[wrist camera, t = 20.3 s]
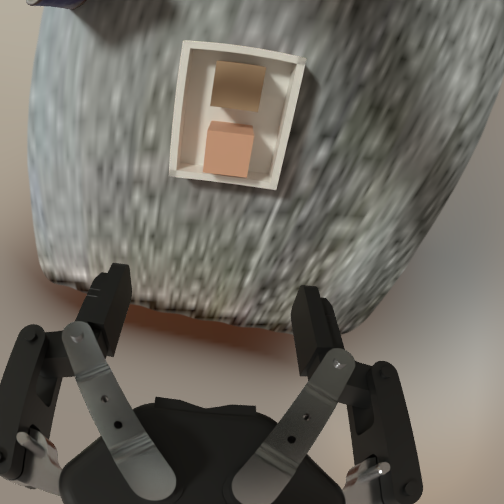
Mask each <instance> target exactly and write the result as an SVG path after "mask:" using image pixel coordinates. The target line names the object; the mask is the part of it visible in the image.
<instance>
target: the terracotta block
mask: <svg viewBox="0 0 504 504" xmlns="http://www.w3.org/2000/svg"><path fill="white" fill-rule="evenodd" d="M253 140H254V132H253V126H252V125H245V124H238V123H230V122H221V121H211V123H210V125H209V128H208V130H207V138H206V147H205V156H204V165H203V173H212V174H221V175H230V176H238V177H246V178H247V174H248V168H249V163H250V157H251V151H252V146H253Z"/></svg>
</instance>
